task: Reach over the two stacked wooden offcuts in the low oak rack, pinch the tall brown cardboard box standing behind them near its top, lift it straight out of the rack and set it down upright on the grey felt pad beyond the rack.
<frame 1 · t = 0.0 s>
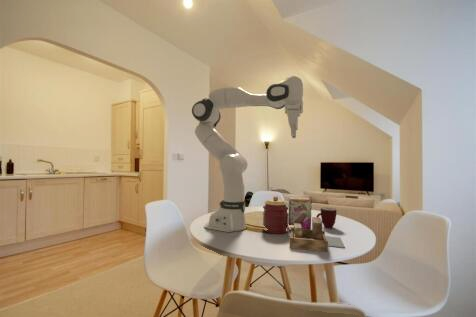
hand: (293, 136, 113), 48 cm above the table, fingers open, 8 cm apart
mug: (326, 227, 124), on the table
felt pad: (333, 242, 100), on the table
offcut top: (297, 233, 100), point 4 cm above the table, touching offcut low
offcut low: (297, 242, 99), resting in rack, touching offcut top
rack: (308, 243, 98), on the table
tall brown cardboard box: (316, 244, 97), resting in rack
canister: (275, 230, 117), on the table
candy bar box: (299, 230, 118), on the table
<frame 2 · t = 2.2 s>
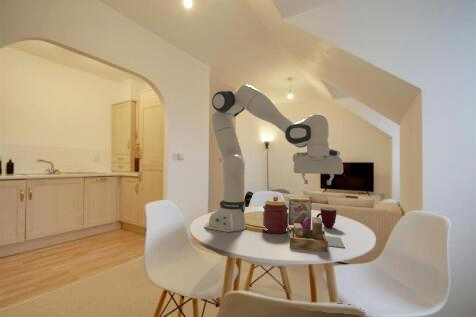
hand: (317, 184, 98), 26 cm above the table, fingers open, 8 cm apart
offcut top: (297, 233, 100), point 4 cm above the table
offcut low: (297, 242, 99), resting in rack
everything else where it was.
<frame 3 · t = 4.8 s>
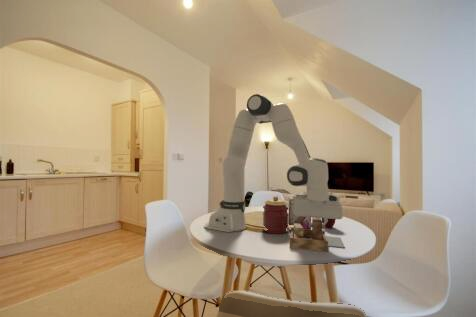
hand: (316, 227, 97), 7 cm above the table, fingers closed on tall brown cardboard box, 3 cm apart
offcut top: (298, 233, 99), point 4 cm above the table, touching offcut low
offcut low: (297, 242, 99), resting in rack, touching offcut top
tall brown cardboard box: (316, 244, 97), resting in rack, touching gripper
everything else where it was.
when the fingers open (9 cm above the table, at t = 10.3 s): tall brown cardboard box drops 1 cm, resting on felt pad.
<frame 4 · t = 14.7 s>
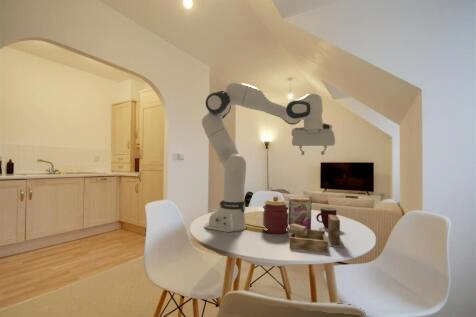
hand: (312, 154, 112), 39 cm above the table, fingers open, 8 cm apart
tall brown cardboard box: (333, 241, 100), resting on felt pad
at the end: tall brown cardboard box inside the target area on the felt pad (0.1 cm from its centre), point 0.4 cm above the felt pad's base; tall brown cardboard box tilted 0°; the gripper is holding nothing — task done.
